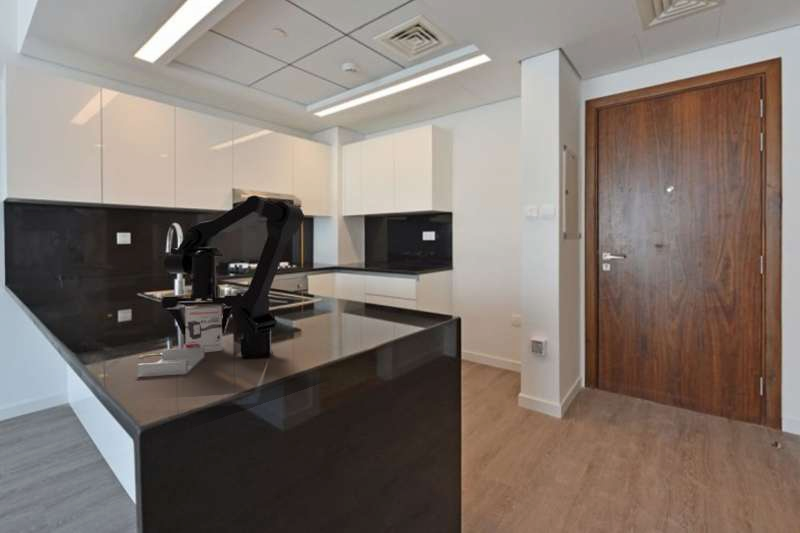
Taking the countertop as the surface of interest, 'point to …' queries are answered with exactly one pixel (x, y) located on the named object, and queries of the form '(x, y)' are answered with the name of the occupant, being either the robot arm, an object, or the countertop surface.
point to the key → (149, 355)
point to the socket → (173, 362)
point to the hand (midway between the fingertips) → (204, 333)
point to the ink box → (204, 327)
